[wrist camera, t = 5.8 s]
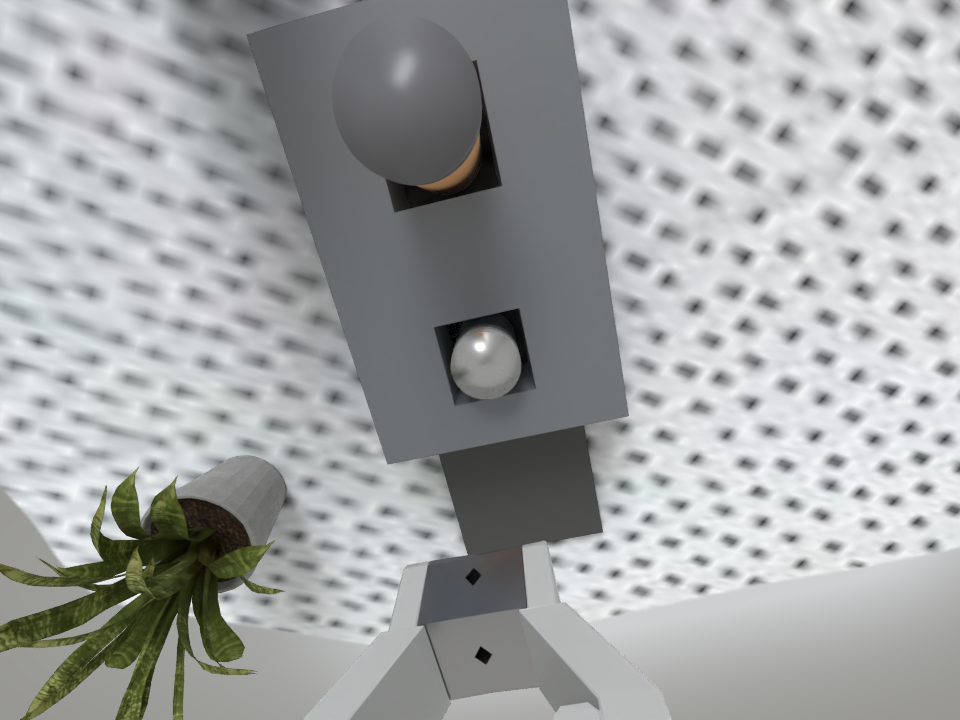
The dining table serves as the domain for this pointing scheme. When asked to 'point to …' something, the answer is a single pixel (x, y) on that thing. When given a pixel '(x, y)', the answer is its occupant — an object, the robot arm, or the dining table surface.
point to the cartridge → (410, 104)
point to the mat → (523, 490)
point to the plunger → (486, 357)
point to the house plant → (158, 581)
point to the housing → (459, 230)
